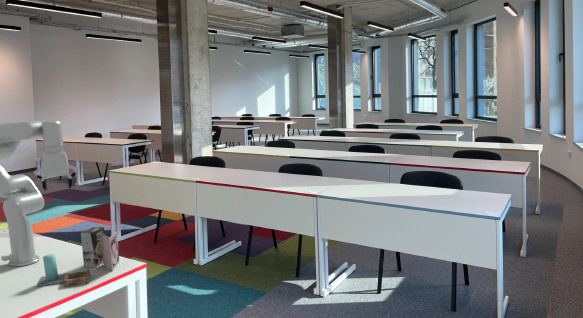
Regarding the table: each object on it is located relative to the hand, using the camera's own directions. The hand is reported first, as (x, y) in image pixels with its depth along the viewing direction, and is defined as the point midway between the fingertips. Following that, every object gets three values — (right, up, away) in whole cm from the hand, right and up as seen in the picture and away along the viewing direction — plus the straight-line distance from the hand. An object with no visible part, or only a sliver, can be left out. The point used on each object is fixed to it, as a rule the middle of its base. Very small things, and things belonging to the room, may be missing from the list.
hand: (58, 188), depth 207 cm
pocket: (+13, -38, -10) cm, 41 cm away
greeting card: (+20, -35, +5) cm, 41 cm away
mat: (+2, -38, -8) cm, 39 cm away
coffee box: (+12, -35, +10) cm, 38 cm away
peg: (+2, -37, -8) cm, 38 cm away
